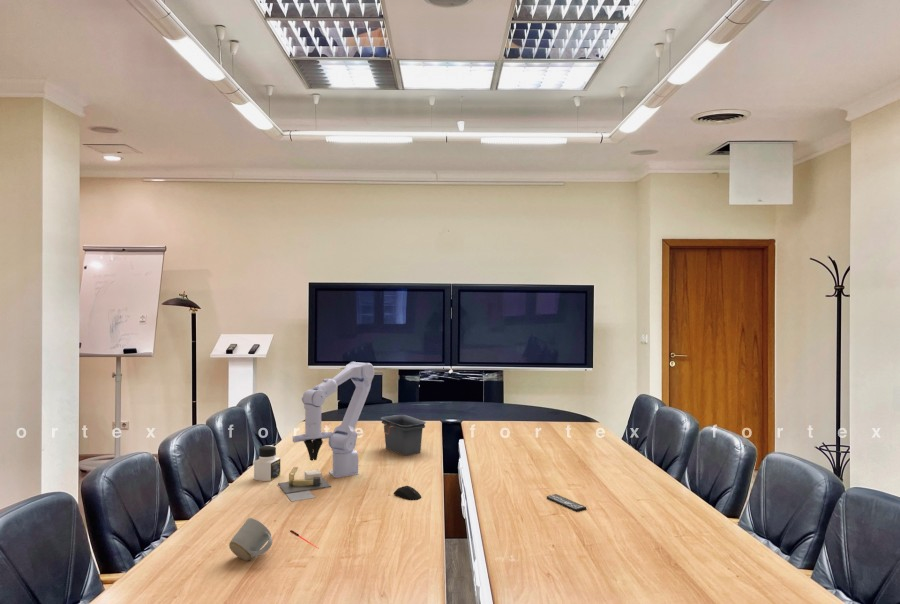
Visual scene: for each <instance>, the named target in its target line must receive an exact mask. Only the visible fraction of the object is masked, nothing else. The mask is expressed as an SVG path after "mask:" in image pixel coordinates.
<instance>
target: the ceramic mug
mask: <svg viewBox="0 0 900 604" xmlns="http://www.w3.org/2000/svg"><path fill="white" fill-rule="evenodd" d="M272 545H273V538H272V533H271V531H270V530H269V529H268V527H267V526H266V525H265V524H264V523H262V522H260V520H258V519H256V518H253V517H248V518H247V519H246V520H245V521H244V523H243V524H242V526H241V527H240V528H239V530H237V532H236V533H235V535H234V536H233V537H232V538H231V540H230V542H229V545H228V546H229V549H230V551H231V552H232V553H233V554H234V555H235V556H236V557H238V558H239V559H240V560H241V559H242V560H244V561H246V562H249V561H251V560H252V559H253V558H254V557H256V556H257V557H258V556H261V555H263V554H265V553H266V552H268V550H269V549H270V548H271V547H272Z"/></svg>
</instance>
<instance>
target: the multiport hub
mask: <svg viewBox="0 0 900 604" xmlns="http://www.w3.org/2000/svg"><path fill="white" fill-rule="evenodd" d="M546 499H547V500H548V501H551V502H553V503H556V504H558V505H560V506H562V507H563V508H564V507H565V508H567V509H569V510H572V511H574V512H577V513H579V512H582V511H586V510H587V506H586V505H583V504H580V503H578V502H575V501H573V500H571V499H568V498H566V497H564V496H562V495H559V494H550V495H547V496H546Z"/></svg>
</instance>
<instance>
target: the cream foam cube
mask: <svg viewBox="0 0 900 604" xmlns="http://www.w3.org/2000/svg"><path fill="white" fill-rule="evenodd" d="M314 477H320V483H322V478H323V473H322V472H321V471H320V470H319V469H313V470H305V471H304V478H303V479H314Z"/></svg>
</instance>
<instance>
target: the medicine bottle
mask: <svg viewBox="0 0 900 604" xmlns="http://www.w3.org/2000/svg"><path fill="white" fill-rule="evenodd" d="M276 447H277V446H274V445H269V444H268V445H263V446H261V447H259V449H258V459H256V460H254V462H253V480H254V481H261V480H262V481H264V482H272V481H274V480H275V478H276V479H277V478H279V477H280V476H281V457H280V456H279V457H278V456H277V455H276V453H277V452H276V451H277V448H276Z"/></svg>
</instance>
